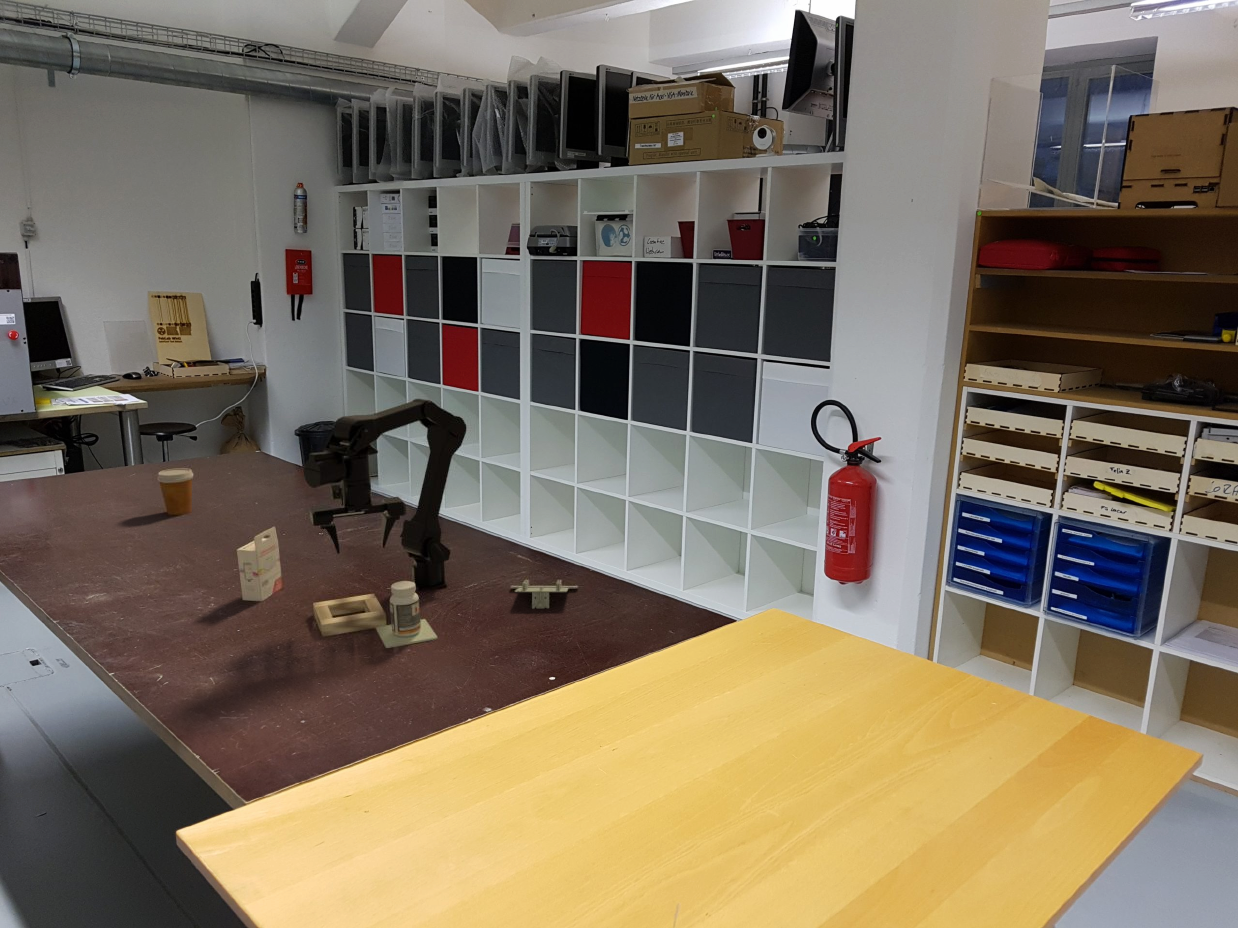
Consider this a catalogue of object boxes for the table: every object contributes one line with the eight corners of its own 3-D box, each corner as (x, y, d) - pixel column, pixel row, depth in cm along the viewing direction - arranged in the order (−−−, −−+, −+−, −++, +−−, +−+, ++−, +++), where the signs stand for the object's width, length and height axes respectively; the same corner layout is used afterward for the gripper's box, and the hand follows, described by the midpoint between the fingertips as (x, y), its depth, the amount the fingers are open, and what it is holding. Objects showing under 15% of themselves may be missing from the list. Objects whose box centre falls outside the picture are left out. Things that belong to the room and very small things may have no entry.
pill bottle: (426, 628, 186) (423, 581, 184) (411, 639, 181) (408, 591, 179) (401, 624, 188) (398, 578, 186) (385, 635, 183) (382, 588, 181)
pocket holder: (374, 604, 200) (373, 593, 199) (386, 625, 189) (385, 614, 188) (313, 614, 195) (313, 602, 194) (322, 636, 184) (321, 624, 183)
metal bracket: (575, 582, 197) (504, 582, 197) (575, 610, 197) (504, 610, 197) (578, 578, 211) (512, 578, 211) (578, 604, 211) (512, 603, 211)
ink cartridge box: (263, 586, 210) (257, 524, 207) (283, 588, 209) (277, 525, 206) (240, 600, 202) (234, 535, 199) (261, 602, 201) (255, 537, 198)
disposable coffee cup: (204, 510, 269) (200, 470, 266) (173, 518, 261) (169, 477, 258) (184, 505, 274) (180, 466, 271) (154, 513, 266) (149, 472, 263)
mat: (425, 620, 191) (425, 618, 191) (437, 638, 182) (437, 637, 182) (375, 628, 187) (375, 627, 187) (386, 648, 178) (386, 646, 178)
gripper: (393, 465, 202) (397, 533, 206) (303, 474, 194) (309, 545, 198) (404, 476, 192) (408, 548, 196) (310, 486, 184) (316, 561, 188)
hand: (360, 550), depth 195 cm, fingers open, 9 cm apart
